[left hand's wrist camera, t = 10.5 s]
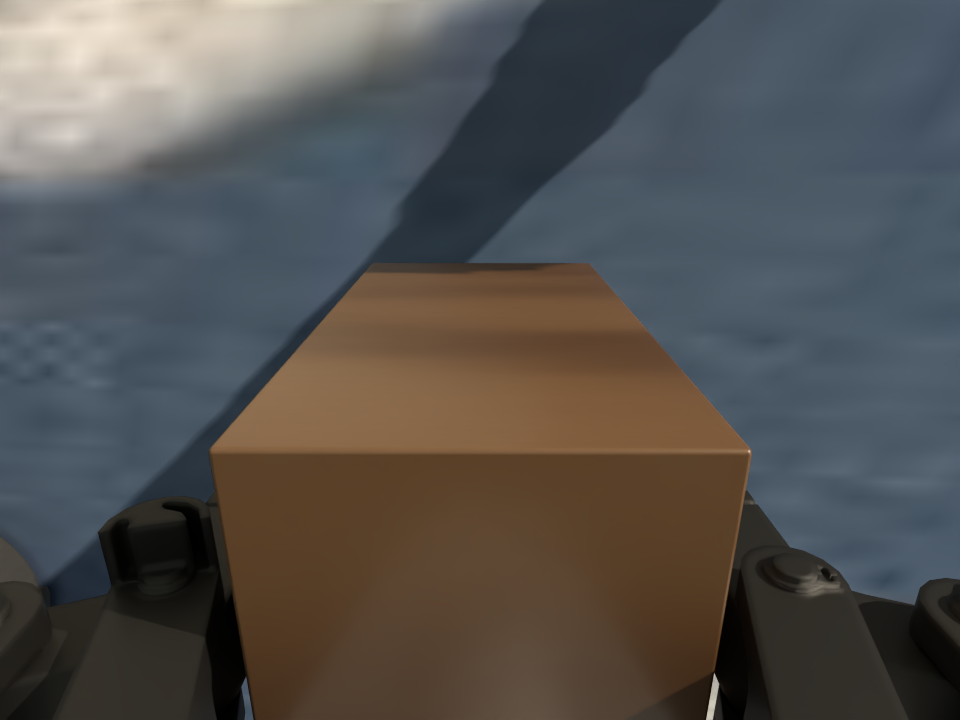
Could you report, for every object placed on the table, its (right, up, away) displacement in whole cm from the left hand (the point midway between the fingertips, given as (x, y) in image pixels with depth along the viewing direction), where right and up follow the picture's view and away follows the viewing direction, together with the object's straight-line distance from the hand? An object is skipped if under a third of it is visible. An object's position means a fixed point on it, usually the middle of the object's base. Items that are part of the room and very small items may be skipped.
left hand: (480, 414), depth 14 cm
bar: (0, -9, +4) cm, 10 cm away
